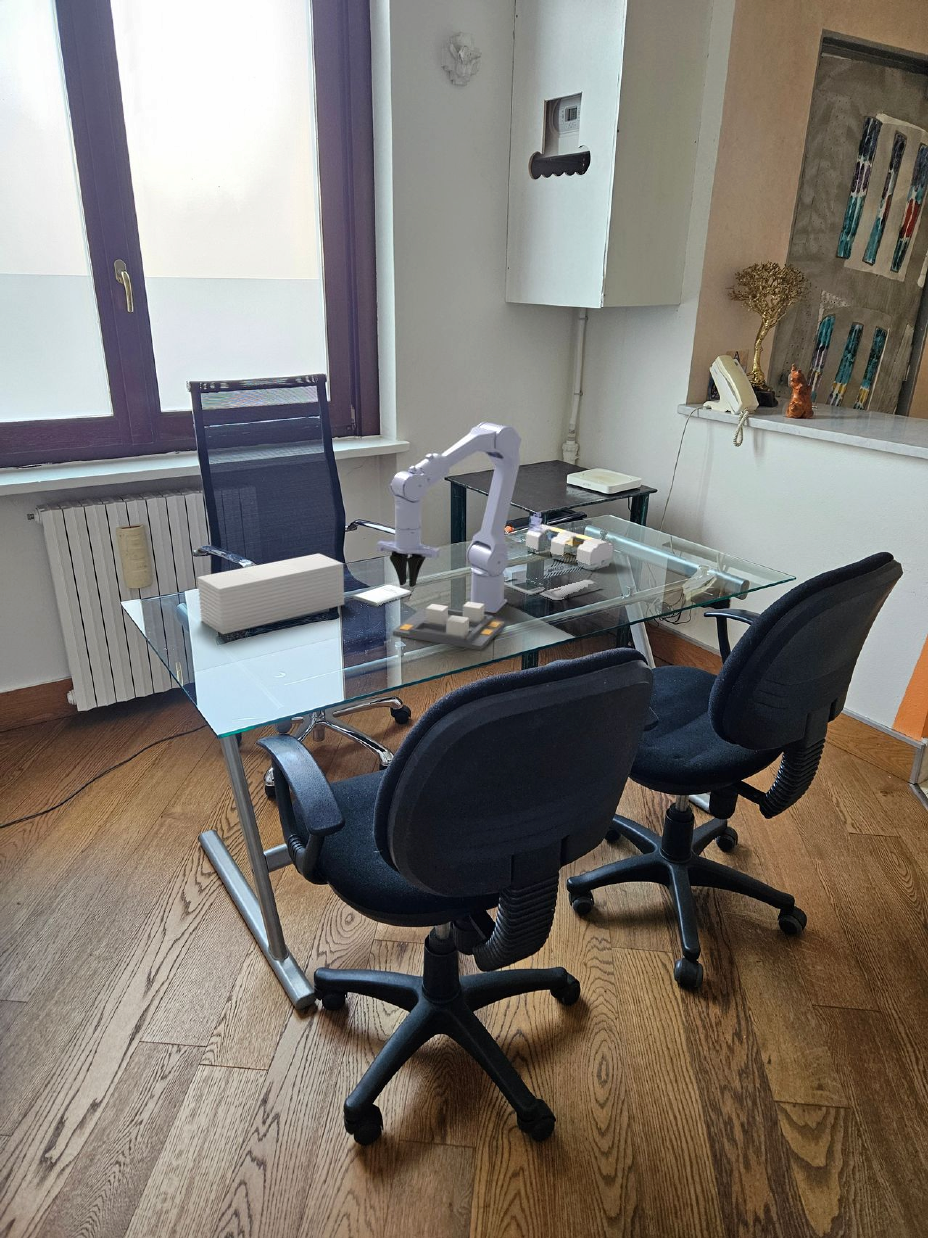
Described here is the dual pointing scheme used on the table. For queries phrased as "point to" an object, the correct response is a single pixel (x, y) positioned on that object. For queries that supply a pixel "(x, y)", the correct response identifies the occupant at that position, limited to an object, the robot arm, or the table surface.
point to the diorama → (569, 542)
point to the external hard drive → (382, 595)
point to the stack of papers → (270, 592)
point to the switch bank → (436, 633)
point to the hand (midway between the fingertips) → (407, 584)
